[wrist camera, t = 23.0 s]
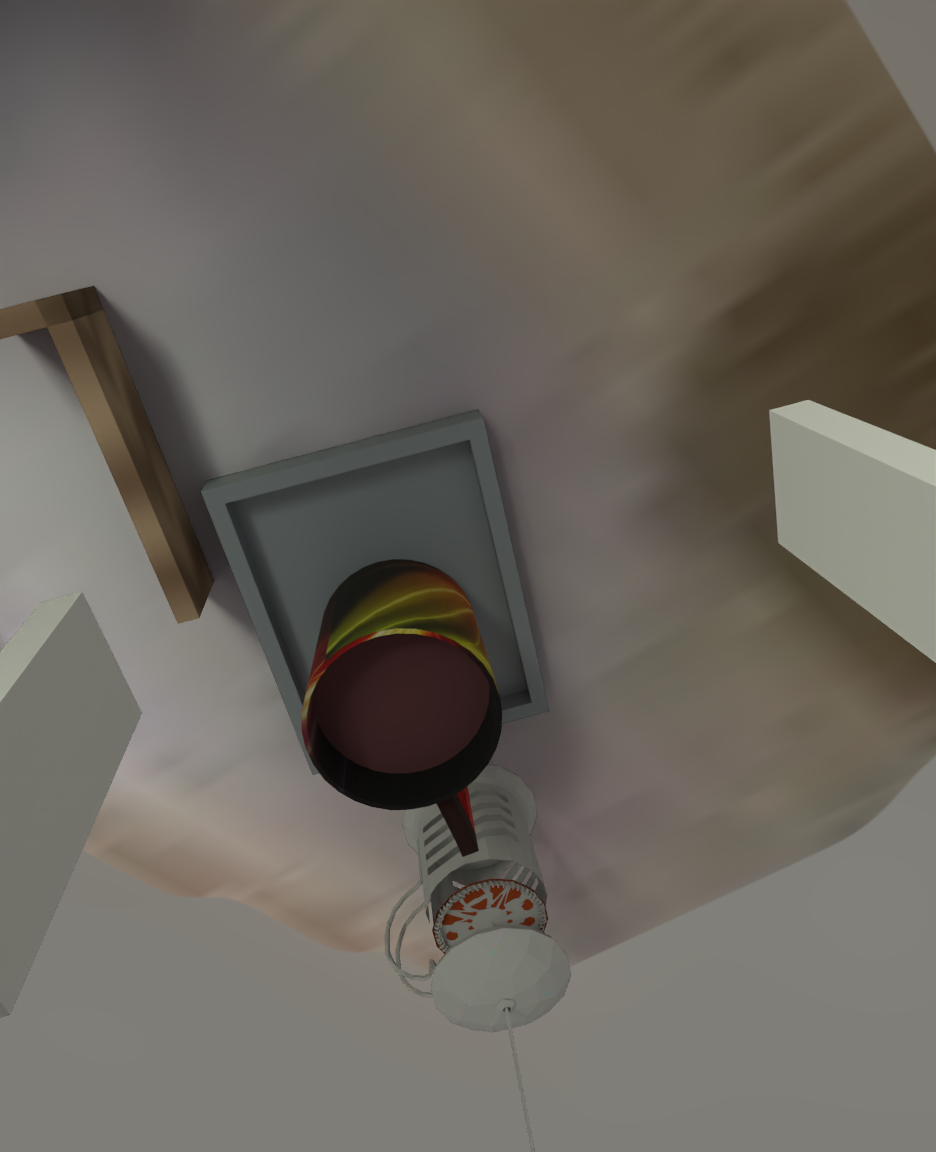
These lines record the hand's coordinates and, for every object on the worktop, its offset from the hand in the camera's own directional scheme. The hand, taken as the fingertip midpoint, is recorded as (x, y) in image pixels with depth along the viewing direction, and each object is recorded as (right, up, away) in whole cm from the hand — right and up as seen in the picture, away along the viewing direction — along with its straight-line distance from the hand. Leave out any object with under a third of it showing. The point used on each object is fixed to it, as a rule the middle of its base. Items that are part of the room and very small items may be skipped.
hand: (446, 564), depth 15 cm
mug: (-2, -5, +36) cm, 36 cm away
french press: (0, -18, +43) cm, 47 cm away
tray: (-4, -2, +35) cm, 35 cm away
